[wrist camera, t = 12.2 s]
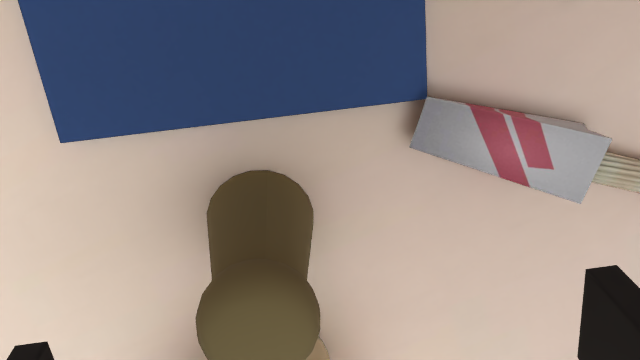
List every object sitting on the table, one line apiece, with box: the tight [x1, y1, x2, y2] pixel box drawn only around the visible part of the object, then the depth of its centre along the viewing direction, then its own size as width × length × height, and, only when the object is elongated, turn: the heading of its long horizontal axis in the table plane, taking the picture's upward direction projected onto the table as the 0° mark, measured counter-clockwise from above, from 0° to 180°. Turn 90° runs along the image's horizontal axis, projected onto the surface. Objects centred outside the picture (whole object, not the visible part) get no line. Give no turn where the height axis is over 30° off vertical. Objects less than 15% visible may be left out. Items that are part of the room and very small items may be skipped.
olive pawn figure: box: [196, 171, 320, 360], centre depth 28 cm, size 6×6×11 cm
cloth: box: [18, 0, 427, 143], centre depth 28 cm, size 19×11×1 cm, turn 96°
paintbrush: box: [410, 97, 640, 204], centre depth 32 cm, size 4×3×20 cm
